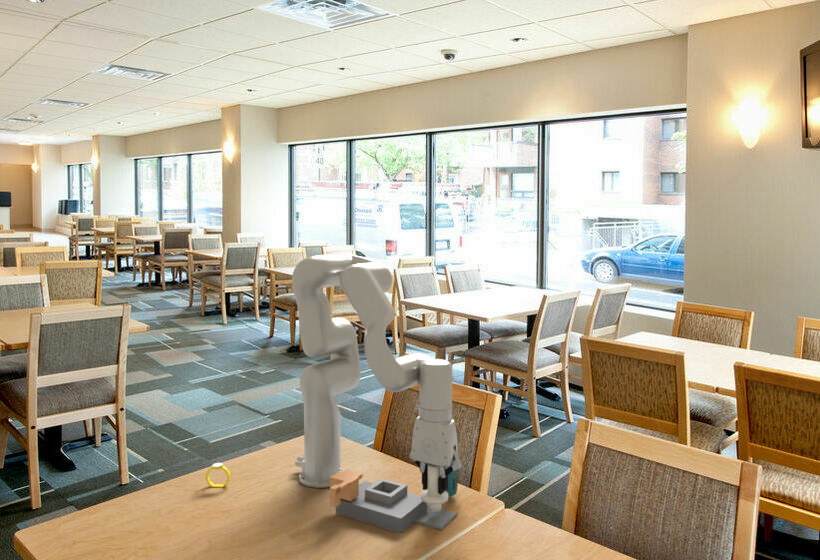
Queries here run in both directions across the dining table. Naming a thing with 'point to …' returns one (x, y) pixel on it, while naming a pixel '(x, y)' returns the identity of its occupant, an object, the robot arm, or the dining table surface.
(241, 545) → the dining table surface
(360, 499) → the grey base plate
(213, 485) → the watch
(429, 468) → the plug
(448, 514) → the mat
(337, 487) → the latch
